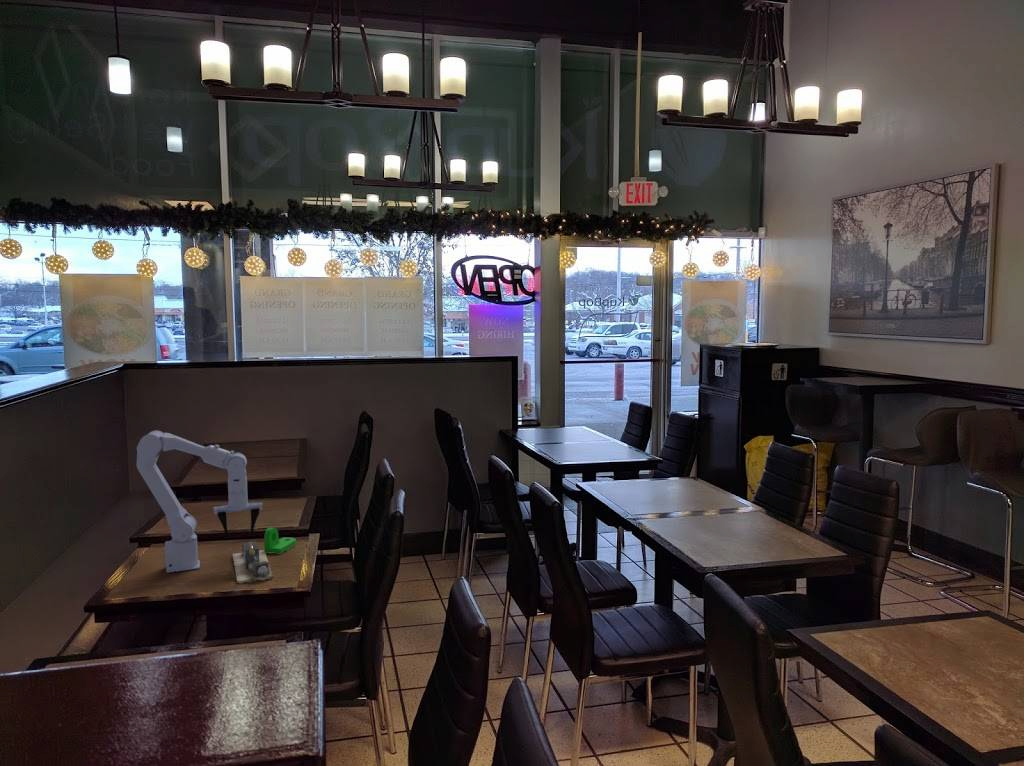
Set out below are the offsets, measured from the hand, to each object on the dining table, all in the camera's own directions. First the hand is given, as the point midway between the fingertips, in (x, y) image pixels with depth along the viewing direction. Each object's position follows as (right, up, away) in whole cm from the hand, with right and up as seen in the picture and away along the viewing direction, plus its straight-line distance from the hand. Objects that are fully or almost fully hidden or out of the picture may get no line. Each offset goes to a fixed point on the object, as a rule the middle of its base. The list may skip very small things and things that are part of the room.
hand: (239, 533), depth 237 cm
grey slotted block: (+5, -9, -4) cm, 11 cm away
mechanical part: (+9, -8, +15) cm, 20 cm away
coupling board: (+5, -10, -4) cm, 12 cm away
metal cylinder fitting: (+1, -9, +5) cm, 10 cm away
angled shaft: (+11, -10, -13) cm, 20 cm away
